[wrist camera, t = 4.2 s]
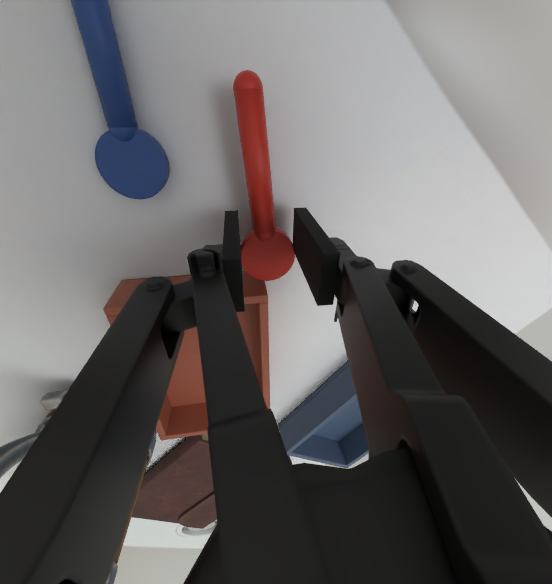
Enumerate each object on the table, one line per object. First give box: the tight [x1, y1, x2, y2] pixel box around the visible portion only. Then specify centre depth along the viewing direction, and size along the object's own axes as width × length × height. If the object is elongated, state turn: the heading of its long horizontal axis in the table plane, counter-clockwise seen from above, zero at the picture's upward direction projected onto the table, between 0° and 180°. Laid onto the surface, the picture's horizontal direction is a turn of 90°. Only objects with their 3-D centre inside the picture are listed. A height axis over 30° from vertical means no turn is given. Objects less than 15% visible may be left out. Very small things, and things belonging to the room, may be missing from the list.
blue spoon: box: [71, 0, 169, 199], centre depth 13 cm, size 11×4×1 cm, turn 0°
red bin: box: [103, 271, 270, 440], centre depth 23 cm, size 15×10×4 cm
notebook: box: [131, 434, 292, 528], centre depth 36 cm, size 15×20×2 cm
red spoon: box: [233, 70, 295, 281], centre depth 16 cm, size 11×4×1 cm, turn 5°
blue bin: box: [279, 361, 369, 468], centre depth 30 cm, size 15×10×4 cm
